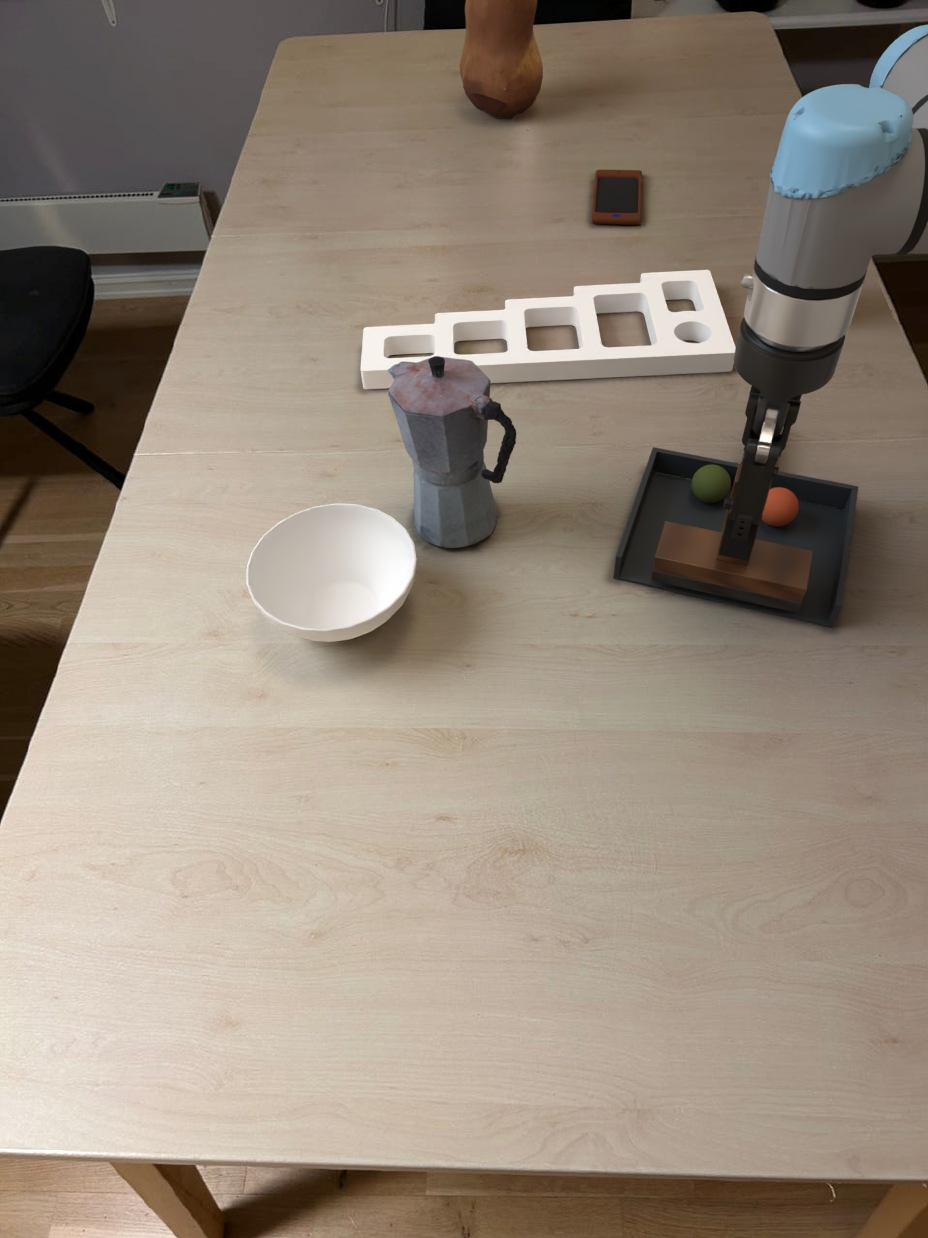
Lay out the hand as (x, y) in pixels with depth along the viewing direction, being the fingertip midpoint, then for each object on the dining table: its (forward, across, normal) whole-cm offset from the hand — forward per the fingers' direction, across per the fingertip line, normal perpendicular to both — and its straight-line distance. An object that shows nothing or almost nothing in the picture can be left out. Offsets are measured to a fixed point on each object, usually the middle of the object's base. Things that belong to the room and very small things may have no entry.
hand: (736, 542), depth 87 cm
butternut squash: (+7, -95, -54) cm, 109 cm away
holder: (+7, -35, -29) cm, 46 cm away
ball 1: (+4, -12, -4) cm, 13 cm away
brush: (+5, 0, 0) cm, 5 cm away
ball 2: (+4, -10, +3) cm, 11 cm away
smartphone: (+6, -71, -28) cm, 77 cm away
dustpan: (+6, -11, 0) cm, 13 cm away
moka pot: (+7, -1, -28) cm, 29 cm away
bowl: (+7, +14, -35) cm, 38 cm away
